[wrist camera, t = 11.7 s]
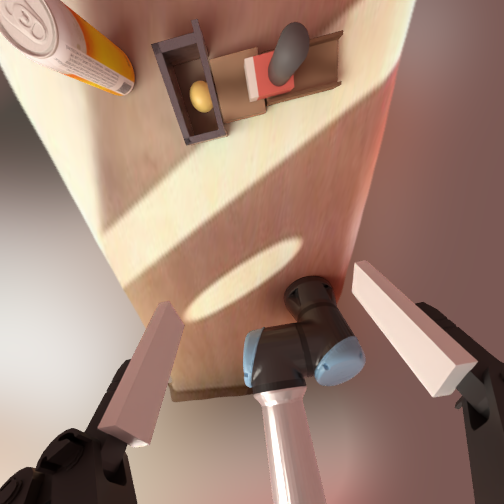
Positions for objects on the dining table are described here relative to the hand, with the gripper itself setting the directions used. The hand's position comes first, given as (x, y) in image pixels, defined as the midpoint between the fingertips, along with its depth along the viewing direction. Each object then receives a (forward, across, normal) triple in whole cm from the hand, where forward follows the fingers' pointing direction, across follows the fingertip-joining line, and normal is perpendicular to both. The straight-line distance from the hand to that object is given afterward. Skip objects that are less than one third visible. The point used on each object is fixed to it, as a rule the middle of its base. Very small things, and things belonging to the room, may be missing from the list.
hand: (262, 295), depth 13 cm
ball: (+30, +4, -17) cm, 34 cm away
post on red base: (+29, -7, -17) cm, 35 cm away
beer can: (+32, +16, -23) cm, 42 cm away
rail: (+32, -13, -17) cm, 38 cm away
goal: (+32, +4, -17) cm, 36 cm away
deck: (+32, -3, -17) cm, 36 cm away
